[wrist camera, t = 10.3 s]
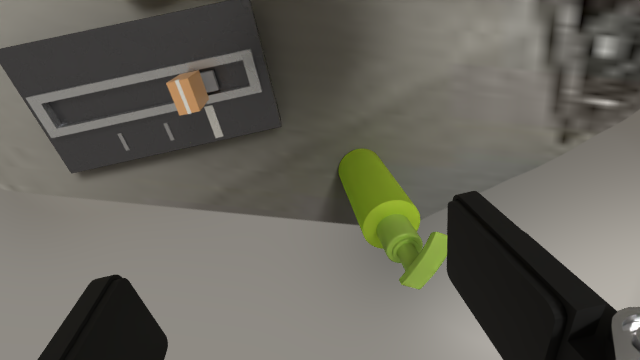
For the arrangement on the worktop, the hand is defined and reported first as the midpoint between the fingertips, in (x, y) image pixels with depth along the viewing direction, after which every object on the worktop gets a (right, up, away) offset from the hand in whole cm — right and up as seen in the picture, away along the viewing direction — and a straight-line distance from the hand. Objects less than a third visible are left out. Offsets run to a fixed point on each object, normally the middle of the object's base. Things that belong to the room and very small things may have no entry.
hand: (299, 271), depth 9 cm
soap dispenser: (+6, +5, +33) cm, 34 cm away
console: (-17, +13, +25) cm, 33 cm away
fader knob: (-12, +13, +23) cm, 29 cm away
